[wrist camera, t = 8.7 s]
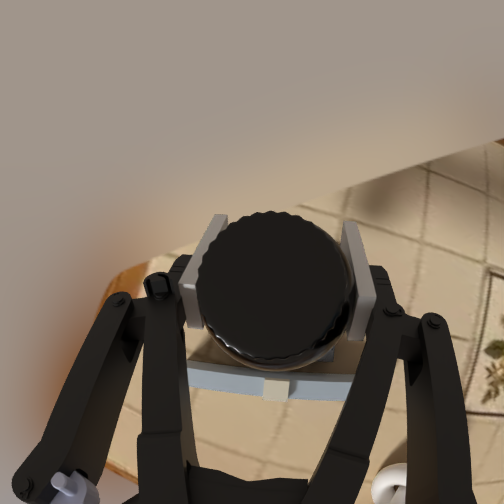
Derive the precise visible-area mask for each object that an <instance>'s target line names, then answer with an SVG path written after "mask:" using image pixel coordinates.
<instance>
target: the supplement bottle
mask: <svg viewBox="0 0 504 504" xmlns="http://www.w3.org/2000/svg"><path fill="white" fill-rule="evenodd" d="M198 276H199V277H198V279H197V281H196V286H197V289H198V293H197V300H198V301H199V307H200V312H201V315H202V319H203V321H204V324H205V326H206V328H207V330H208V332H209V334H210V335H211V337H212V338H213V340H214V341H215V342H216V343H217V345H218V346H219V347H220V348H221V349H222V350H223V351H224V352H225V353H227V354H228V355H229V356H230V357H232V358H233V359H235V360H236V361H238V362H240V363H242V364H244V365H247V366H249V367H252V368H255V369H259V370H265V371H288V370H293V369H297V368H301V367H304V366H306V365H308V364H311V363H313V362H314V361H316V360H318V359H320V358H321V357H322V356H324V355H325V354H326V353H327V352H329V351H330V350H331V349H332V348H333V347H334V346H335V345H336V344H337V342H338V341H339V340H340V338H341V337H342V336H343V334H344V332H345V330H346V329H347V327H348V324H349V322H350V319H351V317H352V313H353V309H354V303H355V282H354V276H353V272H352V269H351V266H350V263H349V261H348V259H347V257H346V255H345V253H344V252H343V250H342V249H341V247H340V246H339V245H338V243H337V242H336V241H335V240H334V239H333V238H332V237H331V236H330V235H329V234H328V233H327V232H325V231H324V230H323V229H321V228H320V227H318V226H316V225H315V224H313V223H312V222H310V221H306V220H304V219H303V218H302V217H300V216H298V215H290V214H288V213H287V212H280V213H276V212H274V211H268V212H266V213H259V212H256V213H254V214H252V215H251V216H243V217H242V218H240V219H239V220H238V221H237V222H232V223H230V224H229V225H228V226H227V228H226V229H225V230H222V231H220V232H219V233H218V235H217V237H216V239H215V240H213V241H212V242H211V243H210V244H209V247H208V250H207V252H205V253H204V254H203V256H202V264H201V265H200V266H199V268H198Z"/></svg>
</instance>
